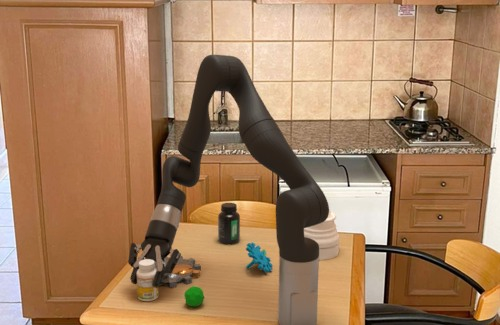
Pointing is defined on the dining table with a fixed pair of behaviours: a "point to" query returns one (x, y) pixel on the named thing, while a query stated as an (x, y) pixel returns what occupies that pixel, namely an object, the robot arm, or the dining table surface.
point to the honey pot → (325, 237)
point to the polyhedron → (194, 296)
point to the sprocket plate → (181, 272)
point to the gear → (258, 257)
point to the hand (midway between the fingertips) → (144, 284)
